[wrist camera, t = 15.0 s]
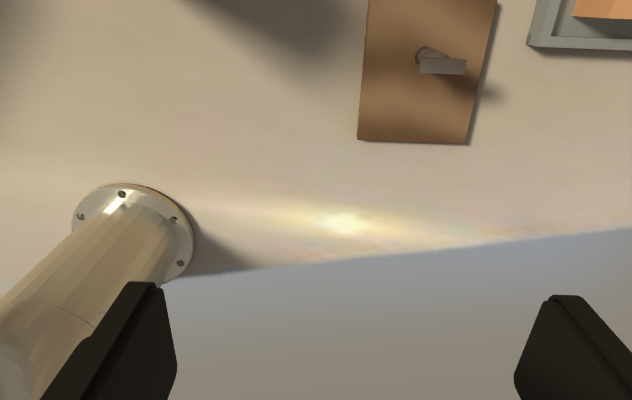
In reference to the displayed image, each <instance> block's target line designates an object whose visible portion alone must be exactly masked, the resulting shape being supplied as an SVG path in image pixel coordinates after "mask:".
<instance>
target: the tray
mask: <svg viewBox="0 0 632 400" xmlns="http://www.w3.org/2000/svg"><path fill="white" fill-rule="evenodd" d="M575 3H576V0H537V4H536V8H535V12H534V15H533V19H532V23H531V27H530V30H529V34H528V38H527V42H526V44H527V45H532V46H536V47H557V48H582V49H608V50H632V19H612V18H594V17H578V16H572V13H573V10H574V7H575Z"/></svg>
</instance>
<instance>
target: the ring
mask: <svg viewBox="0 0 632 400" xmlns="http://www.w3.org/2000/svg"><path fill="white" fill-rule="evenodd" d="M572 16H578V17H594V18H612V19H632V0H576V3H575V7H574V10H573V13H572Z"/></svg>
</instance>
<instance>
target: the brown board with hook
mask: <svg viewBox="0 0 632 400" xmlns="http://www.w3.org/2000/svg"><path fill="white" fill-rule="evenodd" d="M496 2H497V0H369V3H368V15H367V26H366V38H365V49H364V60H363V72H362V83H361V94H360V106H359V117H358V128H357V139H358V140H373V141H400V142H427V143H455V144H465V140H466V136H467V131H468V127H469V122H470V118H471V114H472V109H473V105H474V100H475V96H476V91H477V87H478V82H479V78H480V73H481V69H482V65H483V60H484V56H485V51H486V47H487V42H488V38H489V33H490V29H491V24H492V20H493V15H494V11H495V7H496Z"/></svg>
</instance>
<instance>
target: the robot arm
mask: <svg viewBox="0 0 632 400" xmlns="http://www.w3.org/2000/svg"><path fill="white" fill-rule="evenodd" d="M71 225H72V233H70V234H69V235H68V236H67V237H66V238H65V239H64V240H63V241H62V242H61V243H60V244H59V245H58V246H57V247H56V248H54V249H53V250H52V251H51V252H50V253H49V254H48V255H47V256H46V257H45V258H44V259H43V260H42V261H41V262H40V263H38V264H37V265H36V266H35V267H34V268H33V269H32V270H31V271H30V272H29V273H28V274H27V275H26V276H25V277H24V278H22V279H21V280H20V281H19V282H18V283H17V284H16V285H15V286H14V287H13V288H12V289H11V290H10V291H9V292H7V293H6V294H5V295H4V296H3V297H2V298H1V299H0V400H167V399H168V396H169V393H170V391H171V388H172V386H173V383H174V380H175V377H176V373H177V360H176V355H175V350H174V344H173V339H172V334H171V328H170V324H169V318H168V312H167V307H166V302H165V297H164V292H163V289H161V288H160V286H161V285H162V284H165V283H167V282H169V281H171V280H174V279H175V278H176V277H178V276H179V275H180V274H181V273H182V272H183V271H184V270H185V269H186V268H187V266H188V264H189V262H190V260H191V258H192V255H193V252H194V235H193V231H192V228H191V226H190V223H189V222H188V220H187V218H186V217H185V215H184V214H183V213H182V211H181V210H180V209H179V208H178V207H177V206H176V205H175V204H174V203H173V202H171V201H170V200H169V199H168V198H166V197H165V196H163V195H161V194H160V193H158V192H156V191H153V190H151V189H149V188H146V187H142V186H138V185H134V184H122V183H121V184H111V185H107V186H104V187H100V188H98V189H97V190H95V191H93V192H91V193H90V194H89V195H88V196H86V197H85V198H84V199H83V200H82V201H81V202H80V203H79V205H78V206H77V207H76V209H75V211H74V213H73V218H72V224H71ZM514 384H515V388H516V390H517V392H518V394H519V396H520V398H521V400H632V353H631V351H630V350H629V349H628V348H627V347H626V346H625V345H624V344H623V343H622V341H621V340H620V339H619V338H618V337H617V336H616V335H615V334H614V332H612V330H611V329H610V328H609V327H608V326H607V325H606V323H605V322H604V321H603V320H602V319H601V318H600V317H599V316H598V314H597V313H596V312H595V311H594V310H593V309H592V308H591V307H590V305H589V304H588V303H587V302H586V301H585V300H584V299H583V298H582V297H579V296H575V295H552V296H551V297H550V298H549V299H548V301H544V302H543V304H542V306H541V308H540V311H539V313H538V315H537V318H536V320H535V323H534V325H533V328H532V330H531V333H530V335H529V338H528V340H527V343H526V345H525V348H524V350H523V353H522V355H521V358H520V360H519V363H518V365H517V368H516V370H515V373H514Z"/></svg>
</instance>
